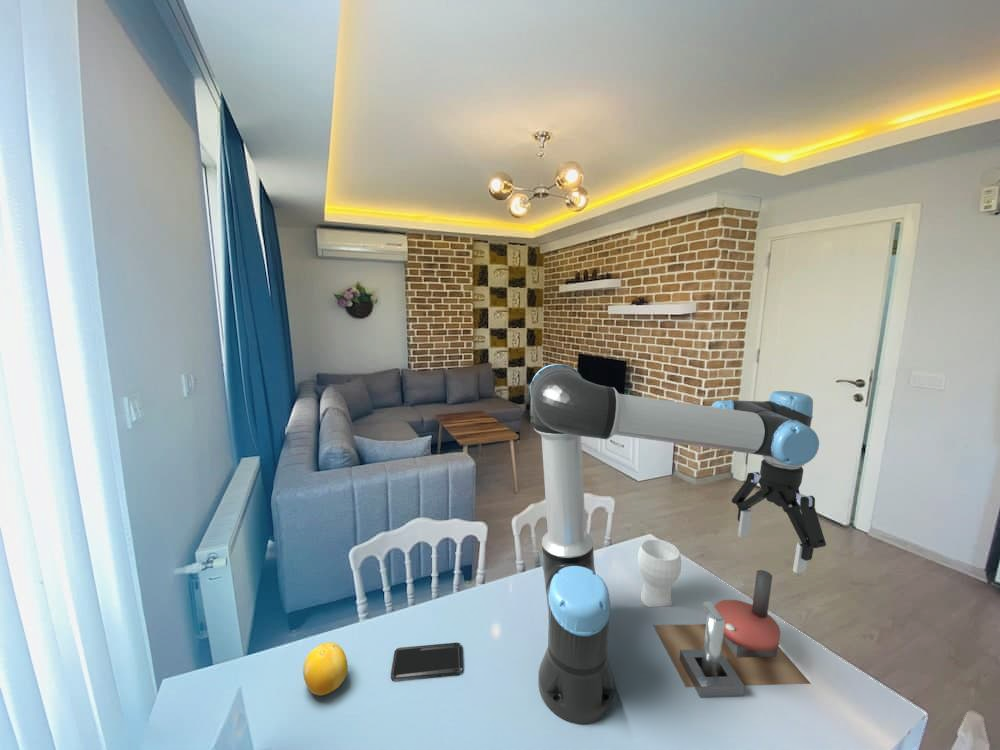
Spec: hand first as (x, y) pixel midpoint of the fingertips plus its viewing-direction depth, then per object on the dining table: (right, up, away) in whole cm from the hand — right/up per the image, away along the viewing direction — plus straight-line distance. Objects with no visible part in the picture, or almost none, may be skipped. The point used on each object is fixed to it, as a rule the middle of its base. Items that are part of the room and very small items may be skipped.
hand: (769, 552), depth 91 cm
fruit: (-96, -24, -8) cm, 100 cm away
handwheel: (-5, -18, +1) cm, 19 cm away
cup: (-19, -20, +17) cm, 32 cm away
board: (-11, -23, -1) cm, 25 cm away
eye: (-17, -23, -7) cm, 29 cm away
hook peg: (-17, -23, -7) cm, 29 cm away
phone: (-77, -23, -3) cm, 80 cm away
